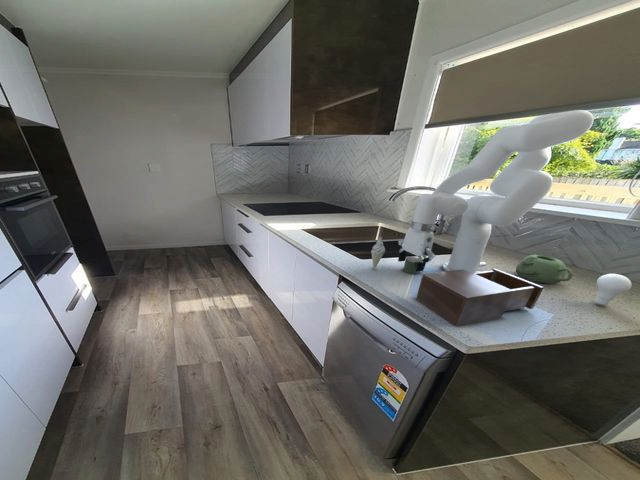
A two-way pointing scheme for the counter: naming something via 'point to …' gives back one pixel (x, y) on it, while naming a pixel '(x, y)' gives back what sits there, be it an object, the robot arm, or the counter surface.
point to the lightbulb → (611, 287)
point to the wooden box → (463, 296)
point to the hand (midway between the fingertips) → (410, 265)
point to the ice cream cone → (377, 252)
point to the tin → (411, 265)
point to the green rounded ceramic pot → (543, 269)
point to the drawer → (515, 288)
